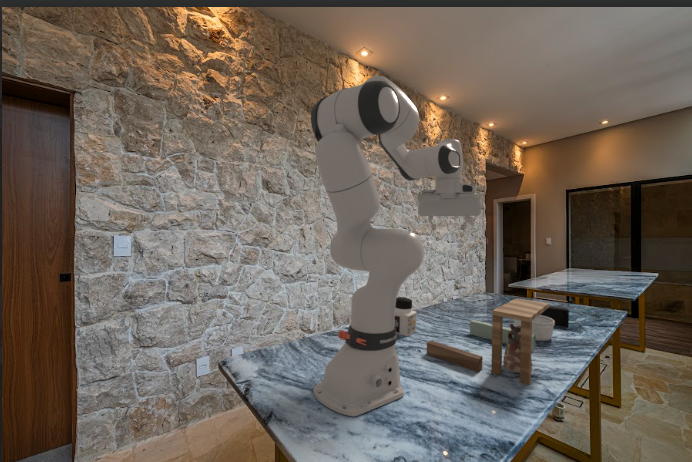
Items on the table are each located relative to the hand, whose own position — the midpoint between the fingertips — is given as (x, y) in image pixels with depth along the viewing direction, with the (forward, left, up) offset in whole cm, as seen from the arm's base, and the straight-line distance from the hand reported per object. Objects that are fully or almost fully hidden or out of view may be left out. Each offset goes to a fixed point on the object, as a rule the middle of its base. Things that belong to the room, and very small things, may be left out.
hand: (448, 229), depth 101 cm
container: (0, +17, -40) cm, 43 cm away
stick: (-11, -8, -40) cm, 42 cm away
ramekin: (+33, -19, -40) cm, 55 cm away
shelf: (+1, -23, -39) cm, 45 cm away
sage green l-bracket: (+13, -12, -40) cm, 43 cm away
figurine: (-1, -22, -40) cm, 45 cm away
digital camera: (+58, -21, -40) cm, 73 cm away
